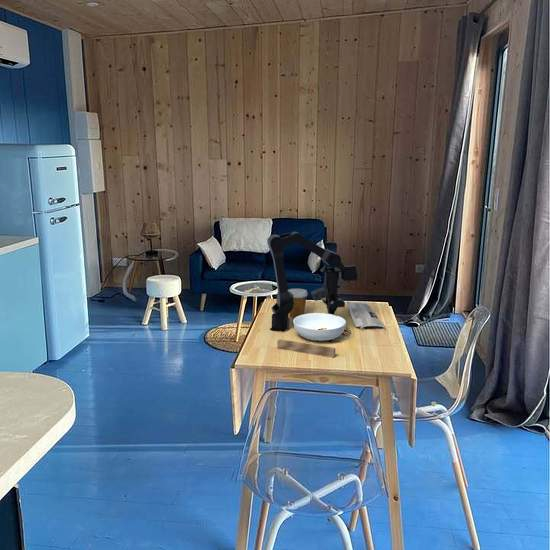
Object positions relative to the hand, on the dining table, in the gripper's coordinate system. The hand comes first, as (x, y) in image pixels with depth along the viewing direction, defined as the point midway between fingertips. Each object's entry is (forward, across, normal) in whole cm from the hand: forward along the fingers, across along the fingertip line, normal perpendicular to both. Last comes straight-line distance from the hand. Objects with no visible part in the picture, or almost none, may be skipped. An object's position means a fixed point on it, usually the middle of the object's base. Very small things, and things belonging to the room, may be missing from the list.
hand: (330, 317), depth 221 cm
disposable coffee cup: (+4, -16, -11) cm, 20 cm away
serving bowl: (+4, +12, -8) cm, 15 cm away
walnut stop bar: (+4, +27, -18) cm, 33 cm away
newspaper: (+4, -10, +18) cm, 21 cm away
